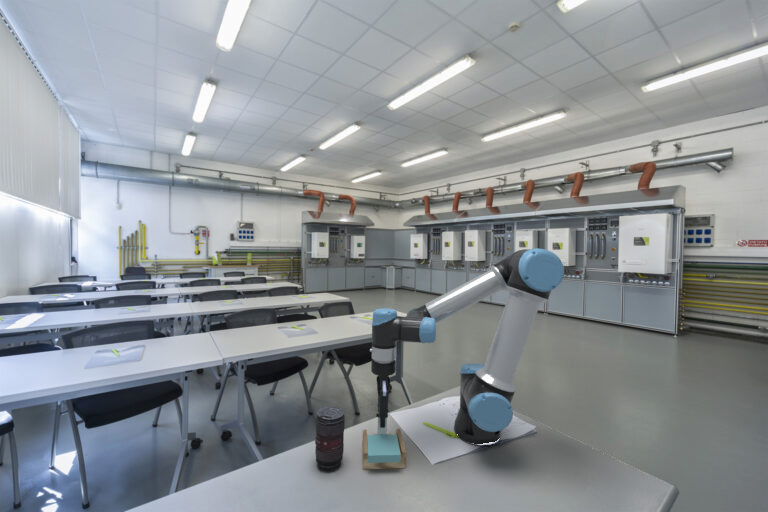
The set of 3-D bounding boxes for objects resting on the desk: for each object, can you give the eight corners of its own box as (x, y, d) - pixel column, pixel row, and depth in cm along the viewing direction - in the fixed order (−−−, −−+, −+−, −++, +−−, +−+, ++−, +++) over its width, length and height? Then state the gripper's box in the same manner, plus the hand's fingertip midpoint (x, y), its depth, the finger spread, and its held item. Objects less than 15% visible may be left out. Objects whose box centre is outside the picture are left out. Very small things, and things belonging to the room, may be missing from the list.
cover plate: (396, 440, 97) (396, 434, 97) (400, 462, 87) (400, 454, 87) (367, 441, 96) (367, 434, 96) (367, 462, 86) (368, 455, 86)
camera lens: (338, 476, 85) (339, 421, 85) (310, 471, 87) (311, 417, 87) (347, 457, 93) (348, 407, 93) (321, 453, 95) (322, 403, 95)
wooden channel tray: (399, 442, 101) (400, 428, 101) (405, 467, 89) (405, 452, 89) (362, 443, 100) (362, 429, 100) (363, 469, 88) (363, 453, 88)
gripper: (370, 352, 103) (369, 424, 103) (372, 367, 90) (370, 448, 90) (393, 352, 104) (392, 424, 104) (398, 366, 91) (396, 448, 91)
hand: (381, 435), depth 97 cm, fingers closed
